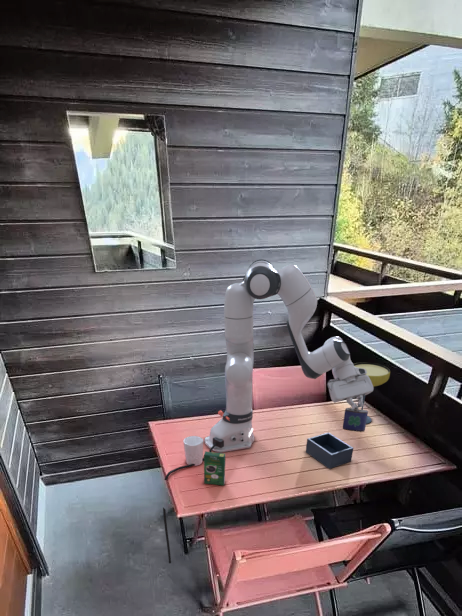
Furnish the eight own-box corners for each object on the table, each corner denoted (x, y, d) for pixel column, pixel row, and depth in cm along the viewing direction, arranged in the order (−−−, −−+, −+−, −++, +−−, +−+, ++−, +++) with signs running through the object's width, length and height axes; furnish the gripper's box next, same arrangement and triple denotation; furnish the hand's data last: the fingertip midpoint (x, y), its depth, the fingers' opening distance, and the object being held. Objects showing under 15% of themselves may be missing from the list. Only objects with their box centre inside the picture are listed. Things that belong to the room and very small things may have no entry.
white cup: (189, 468, 178) (188, 447, 172) (181, 459, 184) (180, 438, 178) (207, 464, 181) (206, 442, 175) (199, 455, 187) (198, 434, 181)
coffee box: (226, 482, 170) (225, 452, 163) (224, 486, 168) (224, 456, 160) (205, 480, 171) (204, 450, 164) (204, 484, 169) (202, 454, 161)
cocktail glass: (372, 431, 205) (383, 379, 190) (335, 421, 213) (343, 370, 198) (384, 416, 217) (395, 367, 202) (349, 408, 225) (357, 359, 210)
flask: (365, 429, 185) (369, 406, 179) (364, 432, 183) (368, 408, 177) (342, 426, 188) (346, 403, 182) (341, 429, 186) (345, 406, 179)
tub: (329, 468, 178) (331, 455, 175) (305, 452, 189) (307, 438, 185) (350, 461, 183) (353, 447, 179) (326, 445, 194) (328, 432, 190)
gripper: (330, 377, 173) (343, 409, 172) (369, 368, 181) (381, 399, 180) (321, 384, 178) (334, 415, 177) (359, 375, 187) (371, 405, 186)
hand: (358, 407), depth 179 cm, fingers closed on flask, 2 cm apart
